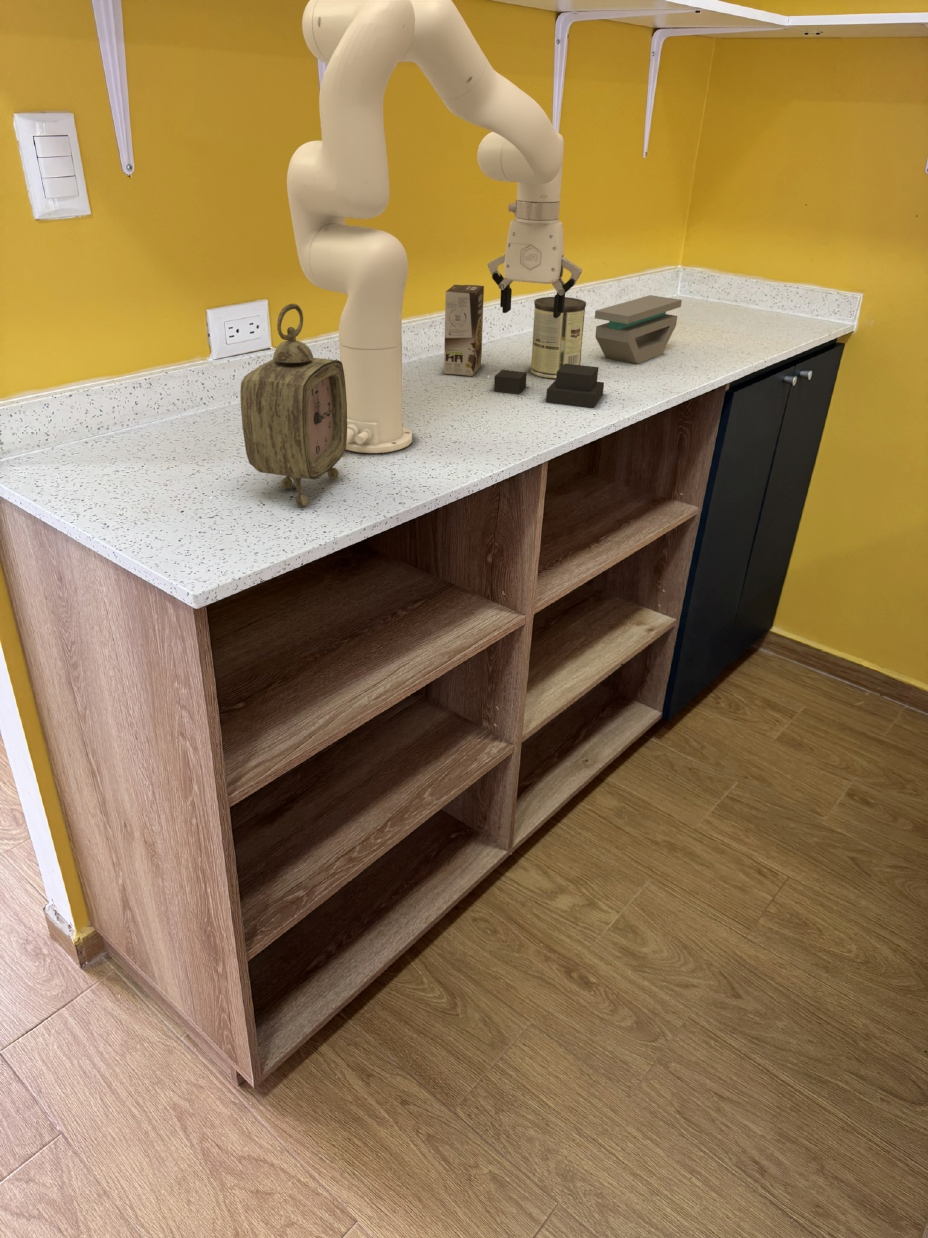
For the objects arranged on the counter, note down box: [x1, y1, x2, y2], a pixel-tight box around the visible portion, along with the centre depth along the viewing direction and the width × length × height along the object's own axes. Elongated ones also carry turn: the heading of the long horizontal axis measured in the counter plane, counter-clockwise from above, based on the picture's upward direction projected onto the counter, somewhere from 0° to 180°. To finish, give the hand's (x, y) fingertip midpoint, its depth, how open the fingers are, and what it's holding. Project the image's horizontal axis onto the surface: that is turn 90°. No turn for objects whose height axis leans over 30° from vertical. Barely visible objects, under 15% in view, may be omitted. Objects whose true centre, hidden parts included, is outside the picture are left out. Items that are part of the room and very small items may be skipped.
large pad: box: [545, 379, 605, 409], centre depth 165 cm, size 9×9×2 cm
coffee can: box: [530, 296, 587, 379], centre depth 179 cm, size 10×10×14 cm
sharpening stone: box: [594, 294, 683, 365], centre depth 193 cm, size 25×8×11 cm, turn 143°
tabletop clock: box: [239, 303, 347, 507], centre depth 117 cm, size 14×9×25 cm, turn 164°
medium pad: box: [555, 364, 599, 392], centre depth 164 cm, size 6×6×3 cm
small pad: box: [493, 369, 528, 395], centre depth 170 cm, size 5×5×3 cm
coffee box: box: [443, 284, 485, 377], centre depth 178 cm, size 9×6×16 cm
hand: (531, 313), depth 162 cm, fingers open, 9 cm apart
